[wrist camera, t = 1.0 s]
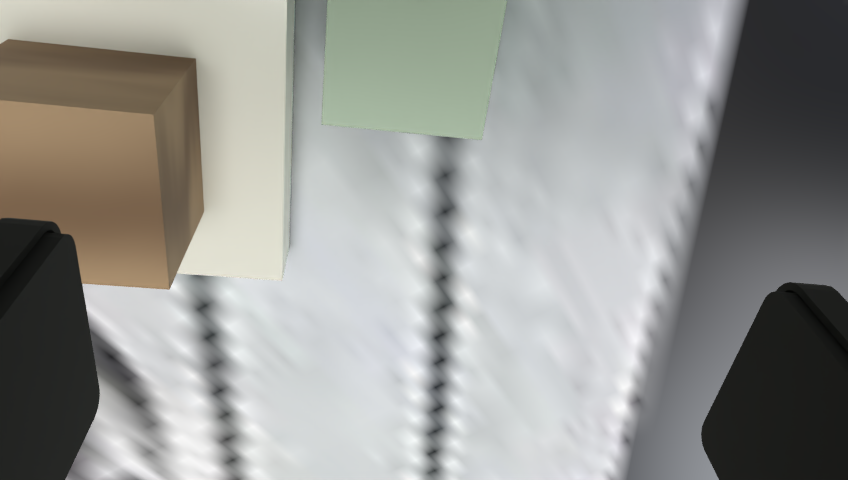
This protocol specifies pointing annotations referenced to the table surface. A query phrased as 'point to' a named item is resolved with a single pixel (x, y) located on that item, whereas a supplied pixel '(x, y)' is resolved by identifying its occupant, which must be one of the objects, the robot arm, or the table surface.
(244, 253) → the base slab
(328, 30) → the sage block
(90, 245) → the walnut block
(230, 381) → the table surface
